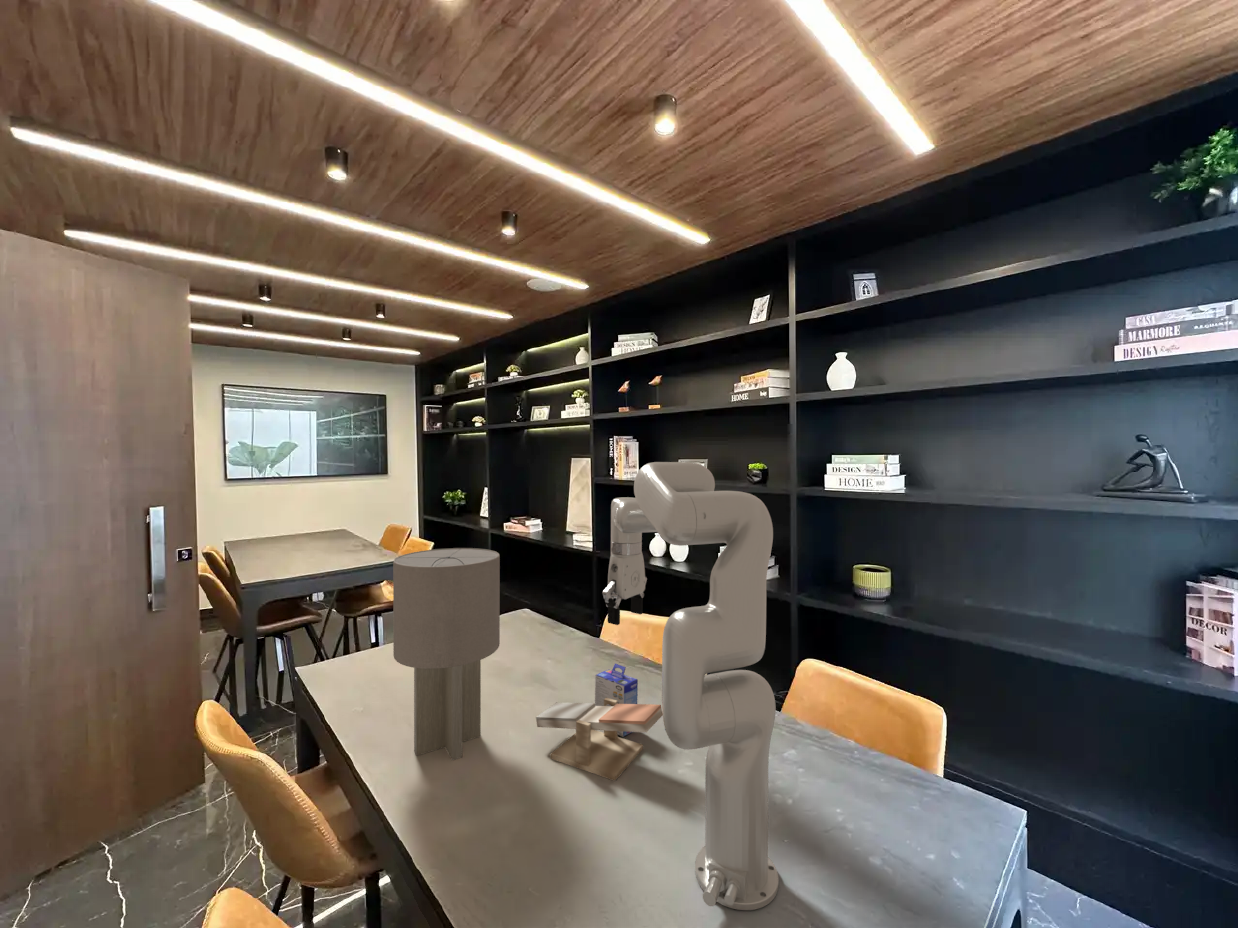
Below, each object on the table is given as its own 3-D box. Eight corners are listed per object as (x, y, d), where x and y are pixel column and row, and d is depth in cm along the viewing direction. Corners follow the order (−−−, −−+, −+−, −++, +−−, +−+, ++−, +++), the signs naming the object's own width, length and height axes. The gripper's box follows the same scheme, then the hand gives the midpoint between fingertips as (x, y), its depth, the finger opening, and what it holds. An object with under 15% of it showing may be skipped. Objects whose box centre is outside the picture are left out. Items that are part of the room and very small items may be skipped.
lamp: (404, 787, 100) (404, 571, 100) (385, 735, 119) (385, 553, 119) (514, 751, 113) (514, 559, 112) (481, 709, 132) (481, 544, 132)
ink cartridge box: (639, 729, 122) (639, 669, 122) (624, 738, 118) (624, 676, 118) (608, 715, 129) (608, 658, 129) (593, 724, 125) (593, 665, 125)
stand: (643, 748, 114) (643, 706, 114) (614, 780, 102) (614, 733, 102) (583, 730, 122) (583, 691, 121) (550, 758, 110) (550, 714, 110)
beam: (664, 712, 110) (662, 702, 110) (644, 734, 101) (642, 723, 101) (560, 709, 123) (558, 700, 123) (534, 728, 114) (532, 718, 114)
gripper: (617, 556, 114) (617, 631, 115) (657, 545, 128) (657, 612, 129) (591, 552, 118) (591, 624, 119) (633, 541, 133) (632, 606, 133)
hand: (625, 618), depth 124 cm, fingers open, 9 cm apart
